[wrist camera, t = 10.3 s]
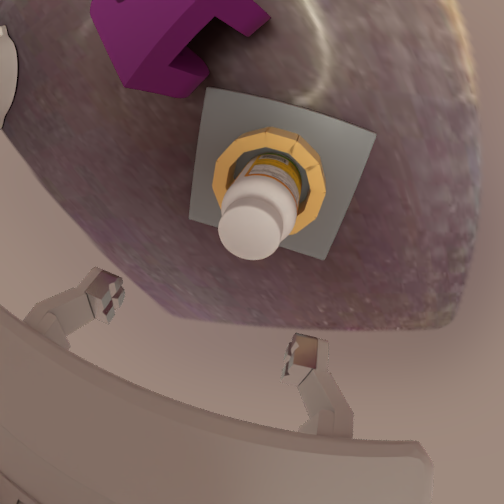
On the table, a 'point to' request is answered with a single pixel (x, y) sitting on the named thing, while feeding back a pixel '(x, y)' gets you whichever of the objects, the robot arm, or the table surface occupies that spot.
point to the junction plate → (289, 144)
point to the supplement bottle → (260, 206)
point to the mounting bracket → (165, 38)
